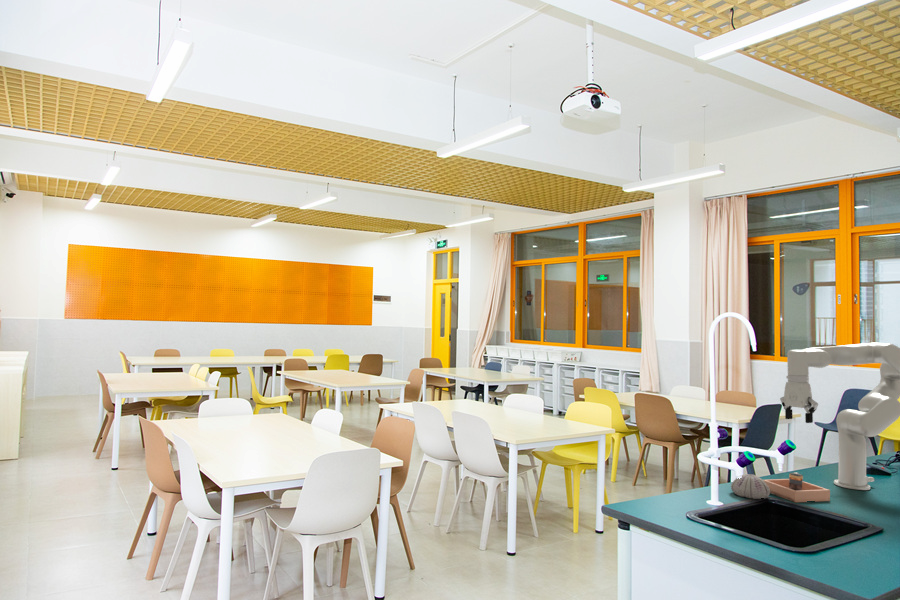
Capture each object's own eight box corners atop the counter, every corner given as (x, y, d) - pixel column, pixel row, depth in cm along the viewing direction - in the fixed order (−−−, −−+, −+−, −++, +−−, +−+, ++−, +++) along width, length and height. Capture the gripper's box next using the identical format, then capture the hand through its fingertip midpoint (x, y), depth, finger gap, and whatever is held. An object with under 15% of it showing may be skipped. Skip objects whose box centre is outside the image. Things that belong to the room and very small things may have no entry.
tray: (794, 488, 236) (795, 478, 236) (829, 500, 220) (830, 490, 220) (761, 489, 232) (762, 479, 232) (795, 502, 216) (795, 491, 216)
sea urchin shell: (773, 503, 215) (773, 481, 215) (732, 498, 219) (733, 476, 219) (766, 493, 227) (766, 472, 227) (728, 489, 231) (728, 468, 232)
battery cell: (795, 490, 228) (796, 471, 228) (804, 494, 224) (805, 474, 224) (785, 490, 228) (786, 471, 228) (794, 494, 223) (795, 474, 223)
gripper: (773, 377, 251) (774, 417, 250) (809, 381, 234) (810, 424, 233) (787, 377, 253) (788, 417, 252) (823, 381, 236) (824, 423, 236)
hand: (798, 420), depth 243 cm, fingers open, 9 cm apart
